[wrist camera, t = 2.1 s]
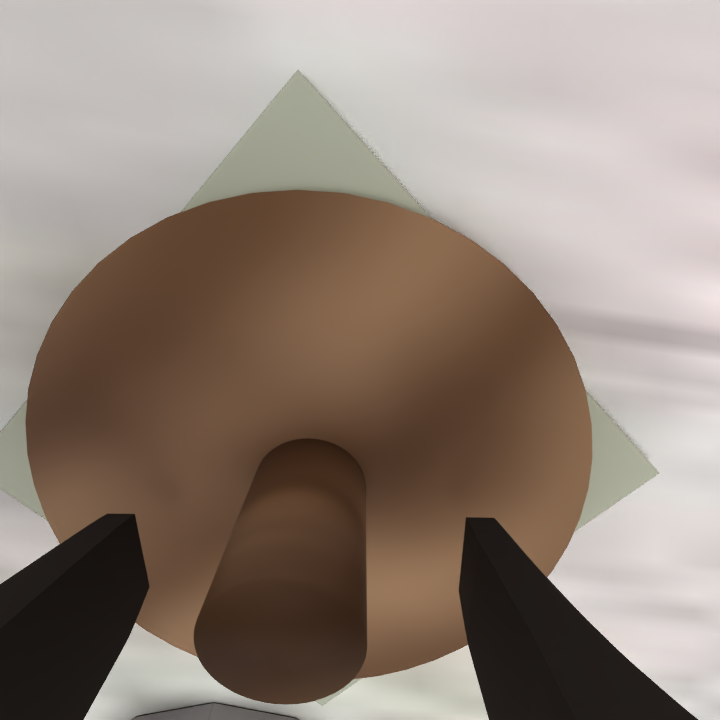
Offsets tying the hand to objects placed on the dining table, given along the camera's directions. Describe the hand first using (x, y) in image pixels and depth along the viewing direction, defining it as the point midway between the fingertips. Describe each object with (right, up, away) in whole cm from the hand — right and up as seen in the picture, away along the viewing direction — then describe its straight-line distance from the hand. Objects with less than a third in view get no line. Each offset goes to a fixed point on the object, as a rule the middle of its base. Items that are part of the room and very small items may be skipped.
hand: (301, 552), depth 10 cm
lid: (0, +1, +3) cm, 3 cm away
